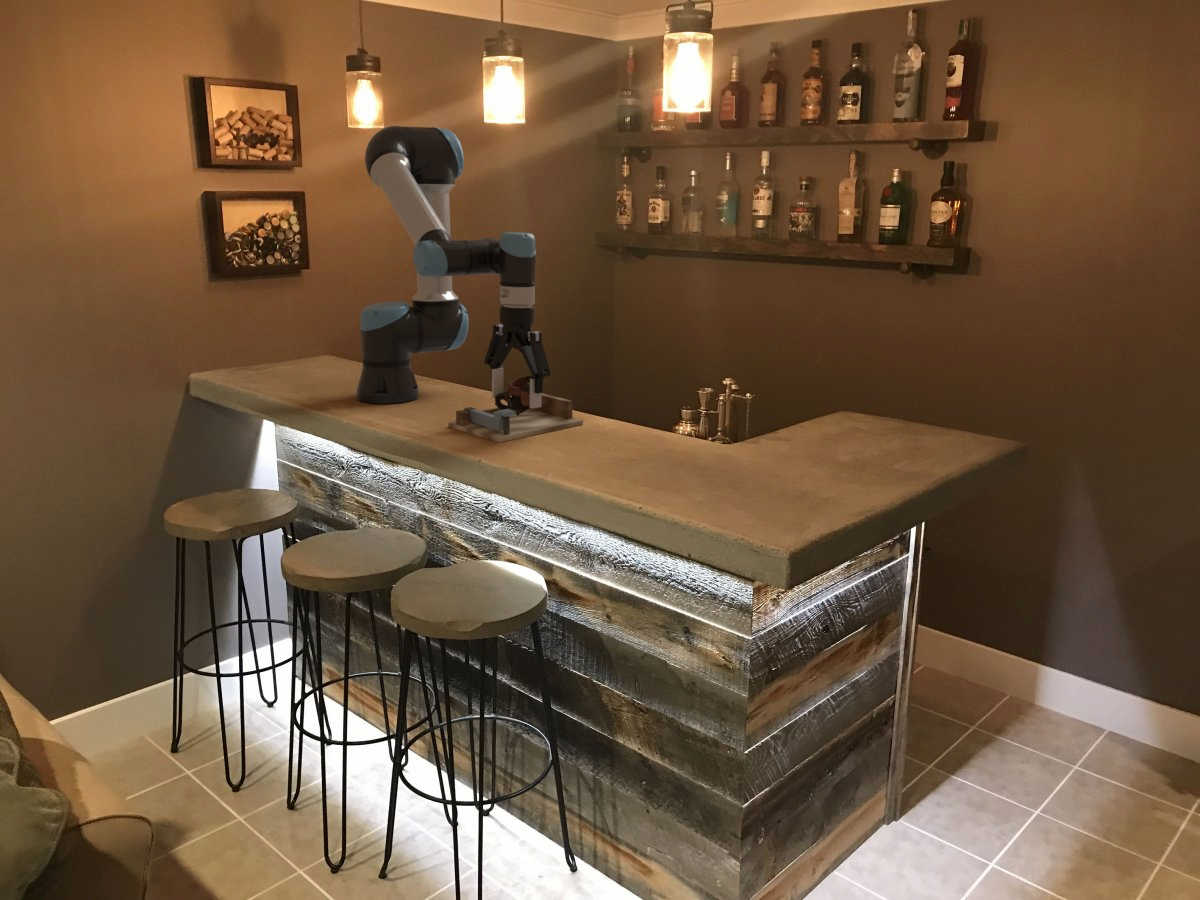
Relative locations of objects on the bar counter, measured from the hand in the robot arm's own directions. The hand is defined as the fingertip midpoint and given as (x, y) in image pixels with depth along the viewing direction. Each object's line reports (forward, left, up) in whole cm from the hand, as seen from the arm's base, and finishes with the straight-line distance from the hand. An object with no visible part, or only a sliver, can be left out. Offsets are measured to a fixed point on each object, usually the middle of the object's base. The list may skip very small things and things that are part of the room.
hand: (516, 402), depth 215 cm
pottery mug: (0, +3, -2) cm, 4 cm away
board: (0, 0, -5) cm, 5 cm away
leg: (+1, -9, -4) cm, 10 cm away
